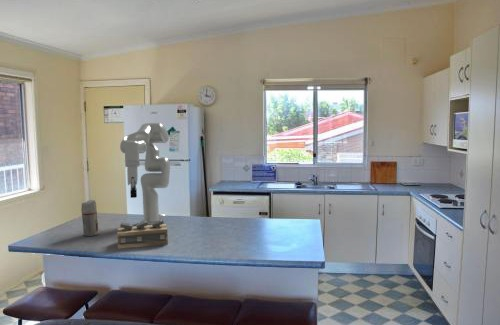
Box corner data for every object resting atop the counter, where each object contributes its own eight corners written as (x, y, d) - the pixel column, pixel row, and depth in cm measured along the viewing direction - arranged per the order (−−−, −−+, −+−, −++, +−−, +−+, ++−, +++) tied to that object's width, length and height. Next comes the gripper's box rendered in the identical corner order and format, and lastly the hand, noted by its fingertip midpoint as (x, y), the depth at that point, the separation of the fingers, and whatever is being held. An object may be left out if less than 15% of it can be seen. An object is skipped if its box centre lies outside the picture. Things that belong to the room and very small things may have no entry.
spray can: (93, 237, 224) (91, 202, 222) (80, 236, 225) (78, 201, 223) (101, 233, 232) (100, 199, 230) (89, 232, 234) (87, 198, 232)
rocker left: (120, 225, 210) (121, 222, 210) (132, 227, 212) (132, 224, 212) (120, 227, 206) (120, 224, 206) (131, 229, 208) (132, 226, 208)
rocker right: (152, 225, 215) (151, 222, 214) (163, 221, 216) (162, 219, 216) (152, 227, 211) (151, 224, 210) (163, 223, 212) (163, 220, 212)
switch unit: (118, 241, 214) (117, 222, 213) (166, 237, 221) (165, 219, 220) (117, 249, 202) (116, 228, 201) (167, 244, 209) (167, 224, 208)
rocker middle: (137, 226, 212) (136, 224, 212) (148, 223, 214) (147, 220, 213) (137, 228, 208) (136, 226, 208) (148, 224, 210) (147, 222, 209)
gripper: (125, 162, 225) (126, 194, 227) (124, 165, 208) (126, 199, 210) (139, 162, 227) (140, 193, 229) (139, 165, 210) (141, 198, 212)
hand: (133, 196), depth 219 cm, fingers open, 5 cm apart
